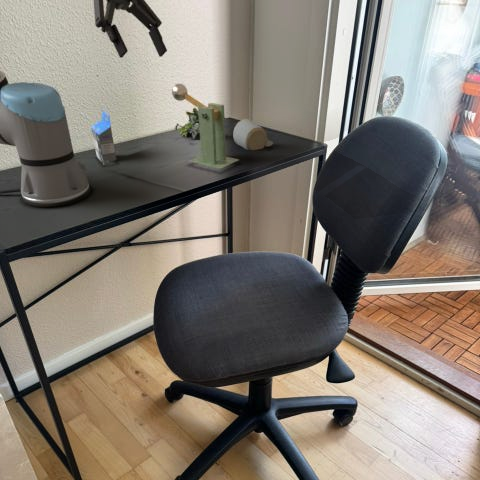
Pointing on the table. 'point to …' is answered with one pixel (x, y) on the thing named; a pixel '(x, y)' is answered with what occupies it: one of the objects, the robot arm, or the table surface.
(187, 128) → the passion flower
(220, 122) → the bracket
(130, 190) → the table surface
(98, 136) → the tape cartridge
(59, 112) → the robot arm
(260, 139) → the ceramic mug
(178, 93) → the lever
